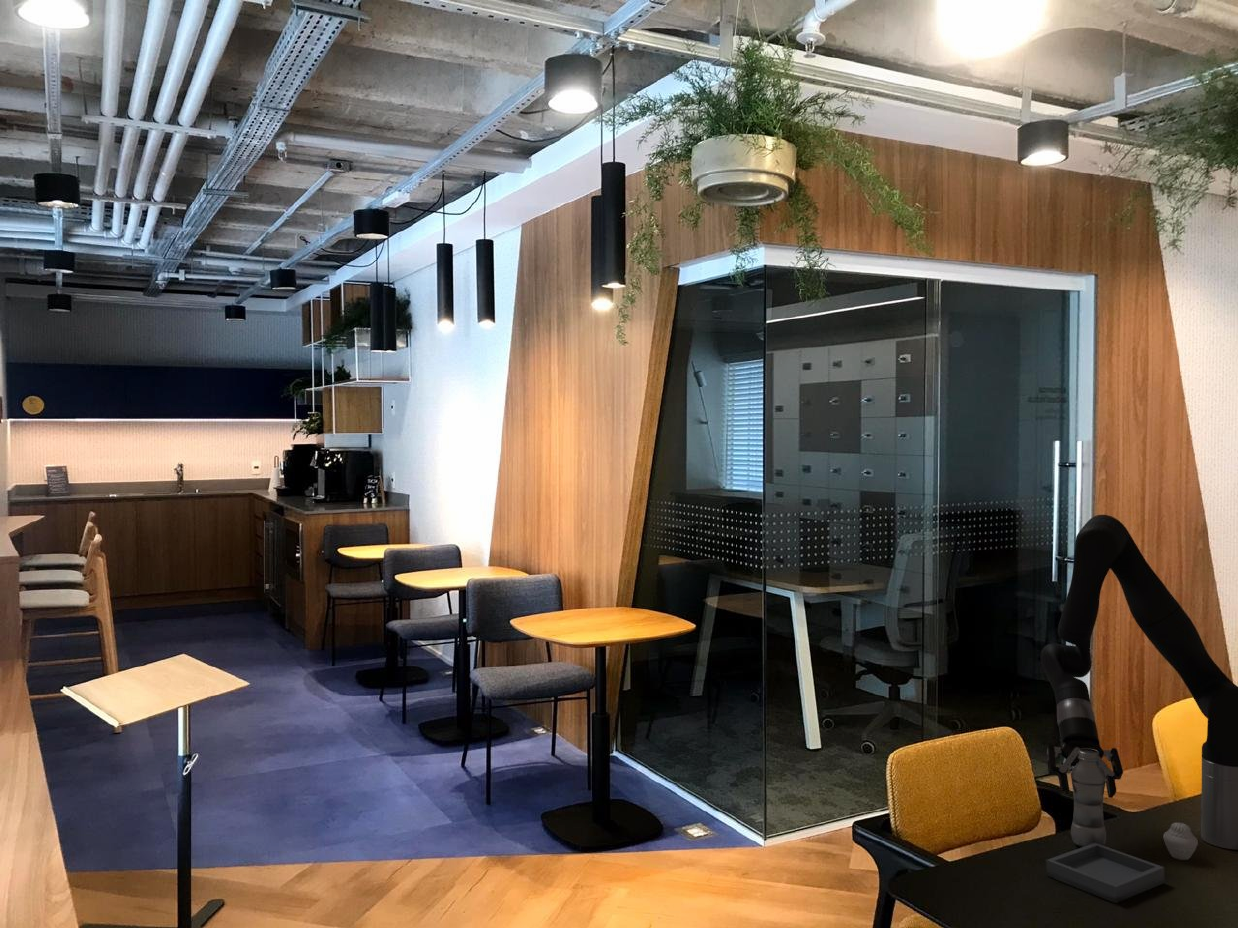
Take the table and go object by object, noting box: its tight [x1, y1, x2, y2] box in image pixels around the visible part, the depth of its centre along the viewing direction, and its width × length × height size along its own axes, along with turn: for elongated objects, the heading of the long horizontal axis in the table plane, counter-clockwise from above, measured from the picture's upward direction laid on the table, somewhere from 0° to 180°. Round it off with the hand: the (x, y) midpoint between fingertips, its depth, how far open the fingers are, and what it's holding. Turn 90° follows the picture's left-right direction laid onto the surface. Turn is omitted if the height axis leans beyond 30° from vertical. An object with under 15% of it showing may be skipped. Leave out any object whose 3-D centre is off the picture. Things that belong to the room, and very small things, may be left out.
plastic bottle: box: [1070, 748, 1107, 848], centre depth 205 cm, size 6×7×20 cm
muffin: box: [1162, 822, 1199, 861], centre depth 200 cm, size 6×6×7 cm
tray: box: [1045, 843, 1165, 904], centre depth 189 cm, size 16×14×3 cm
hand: (1089, 794), depth 204 cm, fingers open, 8 cm apart
